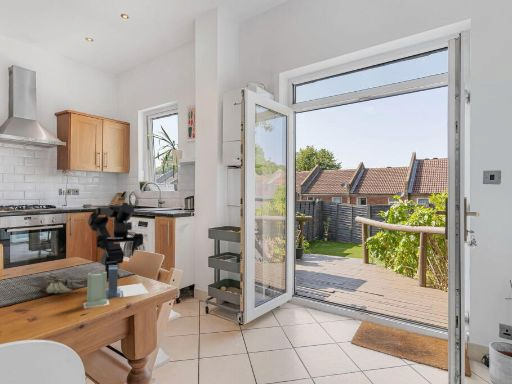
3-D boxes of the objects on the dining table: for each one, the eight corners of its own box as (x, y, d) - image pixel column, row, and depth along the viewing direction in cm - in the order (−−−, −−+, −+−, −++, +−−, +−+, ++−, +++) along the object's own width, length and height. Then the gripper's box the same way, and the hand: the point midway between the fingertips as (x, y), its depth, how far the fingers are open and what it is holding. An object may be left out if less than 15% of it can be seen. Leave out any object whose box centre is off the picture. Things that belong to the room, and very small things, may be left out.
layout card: (81, 292, 120) (81, 290, 120) (141, 284, 132) (141, 283, 132) (83, 309, 102) (84, 308, 102) (152, 298, 114) (152, 297, 114)
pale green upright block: (87, 306, 103) (88, 275, 104) (86, 303, 107) (87, 272, 107) (106, 303, 107) (107, 273, 107) (105, 300, 110) (106, 270, 110)
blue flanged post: (104, 293, 117) (105, 266, 117) (119, 292, 120) (120, 264, 120) (104, 298, 112) (105, 269, 112) (120, 296, 114) (121, 268, 115)
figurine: (79, 271, 133) (92, 279, 122) (77, 284, 133) (91, 294, 122) (23, 276, 119) (33, 286, 107) (21, 291, 118) (31, 303, 107)
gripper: (97, 216, 127) (95, 246, 117) (143, 215, 135) (145, 243, 125) (97, 232, 134) (95, 261, 124) (141, 231, 142) (143, 258, 132)
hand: (120, 256), depth 126 cm, fingers open, 9 cm apart
